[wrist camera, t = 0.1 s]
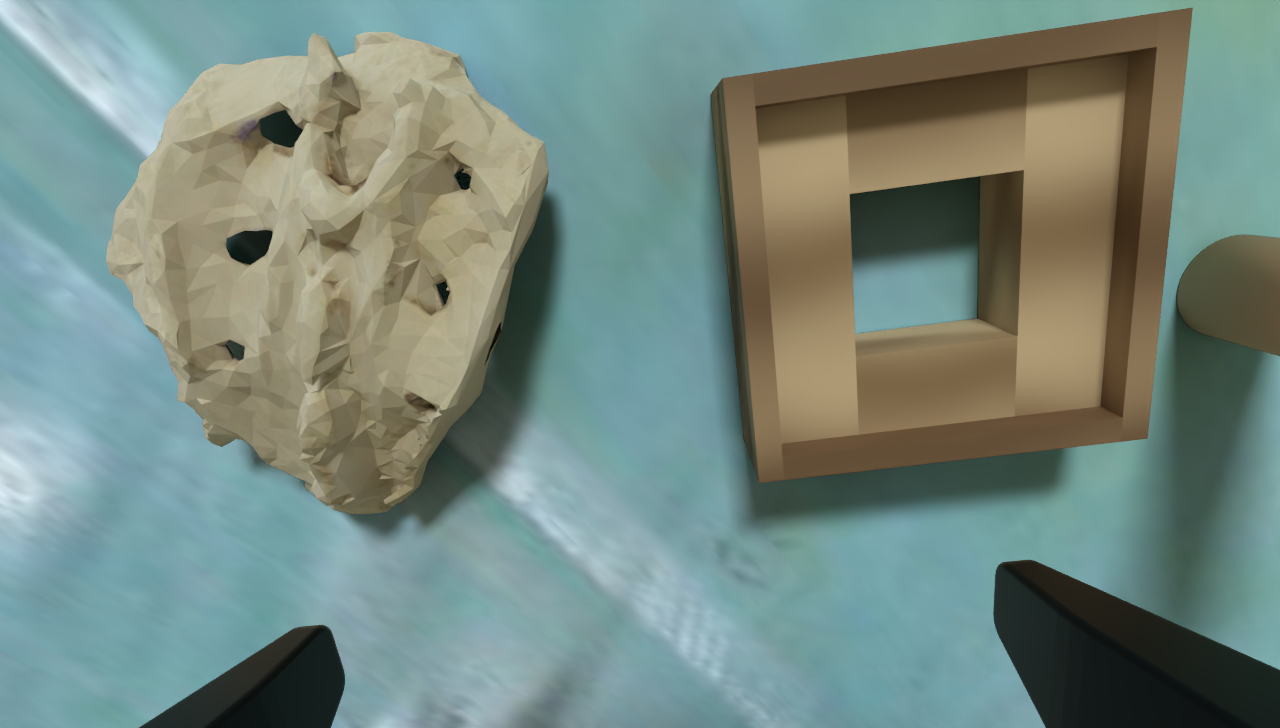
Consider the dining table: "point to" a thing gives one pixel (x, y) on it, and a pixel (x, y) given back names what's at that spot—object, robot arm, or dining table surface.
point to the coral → (333, 257)
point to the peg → (1235, 292)
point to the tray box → (1008, 244)
